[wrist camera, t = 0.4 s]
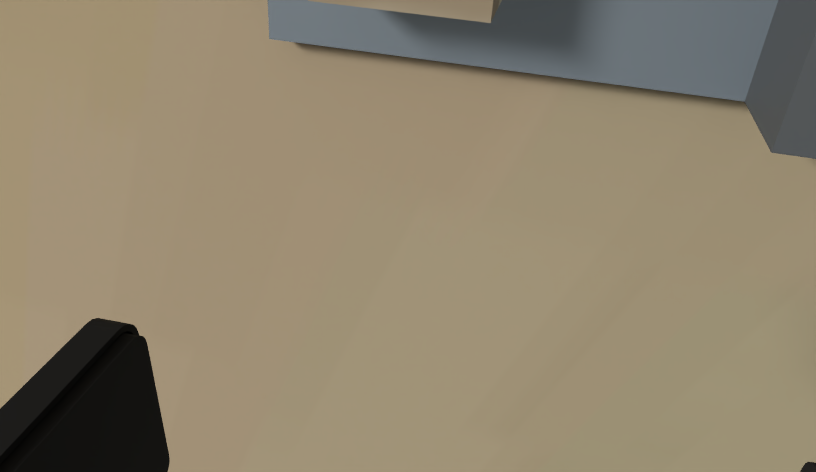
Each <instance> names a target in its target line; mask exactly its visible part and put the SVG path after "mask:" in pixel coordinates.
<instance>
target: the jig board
mask: <svg viewBox="0 0 816 472" xmlns="http://www.w3.org/2000/svg"><path fill="white" fill-rule="evenodd" d="M268 17H269V39H274V40H282V41H289V42H297V43H304V44H312V45H320V46H327V47H335V48H342V49H350V50H357V51H365V52H373V53H380V54H388V55H395V56H403V57H411V58H418V59H426V60H433V61H441V62H448V63H456V64H464V65H471V66H479V67H486V68H494V69H501V70H509V71H517V72H524V73H532V74H539V75H547V76H554V77H562V78H570V79H577V80H585V81H592V82H600V83H608V84H615V85H623V86H630V87H638V88H645V89H653V90H661V91H668V92H676V93H683V94H691V95H698V96H706V97H714V98H721V99H729V100H736V101H744V102H745V103H746V105H747V107H748V109H749V111H750V113H751V115H752V117H753V119H754V120H755V122H756V124H757V126H758V128H759V130H760V132H761V134H762V136H763V138H764V139H765V141H766V143H767V145H768V147H769V149H770V151H771V152H772V153H779V154H786V155H793V156H800V157H807V158H814V159H816V0H502V1H501V3H500V5H499V7H498V9H497V11H496V13H495V15H494V17H493V19H492V21H491V23H486V22H478V21H469V20H461V19H453V18H445V17H437V16H428V15H420V14H412V13H404V12H396V11H387V10H379V9H371V8H363V7H354V6H346V5H338V4H330V3H322V2H313V1H308V0H268Z"/></svg>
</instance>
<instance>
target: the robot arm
mask: <svg viewBox="0 0 816 472" xmlns="http://www.w3.org/2000/svg"><path fill="white" fill-rule="evenodd" d="M168 467H169V453H168V448H167V442H166V437H165V432H164V427H163V422H162V417H161V412H160V407H159V402H158V397H157V392H156V387H155V382H154V376H153V371H152V366H151V361H150V356H149V351H148V346H147V342H146V339H145V338H144V337H143V336H139V333H138V331H137V328H136V327H135V326H134V325H131V324H127V323H121V322H116V321H111V320H105V319H100V318H96V319H92V320H91V321H89V322H88V323H87V324H86V325H85V326H84V327H83V328H82V329H81V330H80V331H79V332H78V333H77V334H76V335H75V336H74V337H73V338H72V339H71V340H69V341H68V342H67V343H66V344H65V345H64V346H63V347H62V348H61V349H60V350H59V351H58V352H57V353H56V354H55V355H54V356H53V357H52V358H51V359H50V360H49V361H48V362H47V363H46V364H45V365H44V366H43V367H42V368H41V369H40V370H39V371H38V372H37V373H36V374H35V375H34V376H33V377H32V378H31V379H30V380H29V381H28V382H27V383H26V384H25V385H24V386H23V387H22V388H21V389H20V390H19V391H18V392H17V393H16V394H15V395H14V396H13V397H12V398H11V399H10V400H9V401H8V402H7V403H6V404H5V405H4V406H3V407H2V408H1V409H0V472H167V471H168ZM801 472H816V463H813V462H807V463H805V465H804V466H803V468H802V469H801Z"/></svg>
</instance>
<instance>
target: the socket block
mask: <svg viewBox="0 0 816 472" xmlns="http://www.w3.org/2000/svg"><path fill="white" fill-rule="evenodd" d="M308 1H313V2H322V3H330V4H338V5H346V6H354V7H363V8H371V9H379V10H387V11H396V12H404V13H412V14H420V15H428V16H437V17H445V18H453V19H461V20H469V21H478V22H486V23H491V21H492V19H493V17H494V15H495V13H496V11H497V9H498V7H499V5H500V3H501V1H502V0H308Z"/></svg>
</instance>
